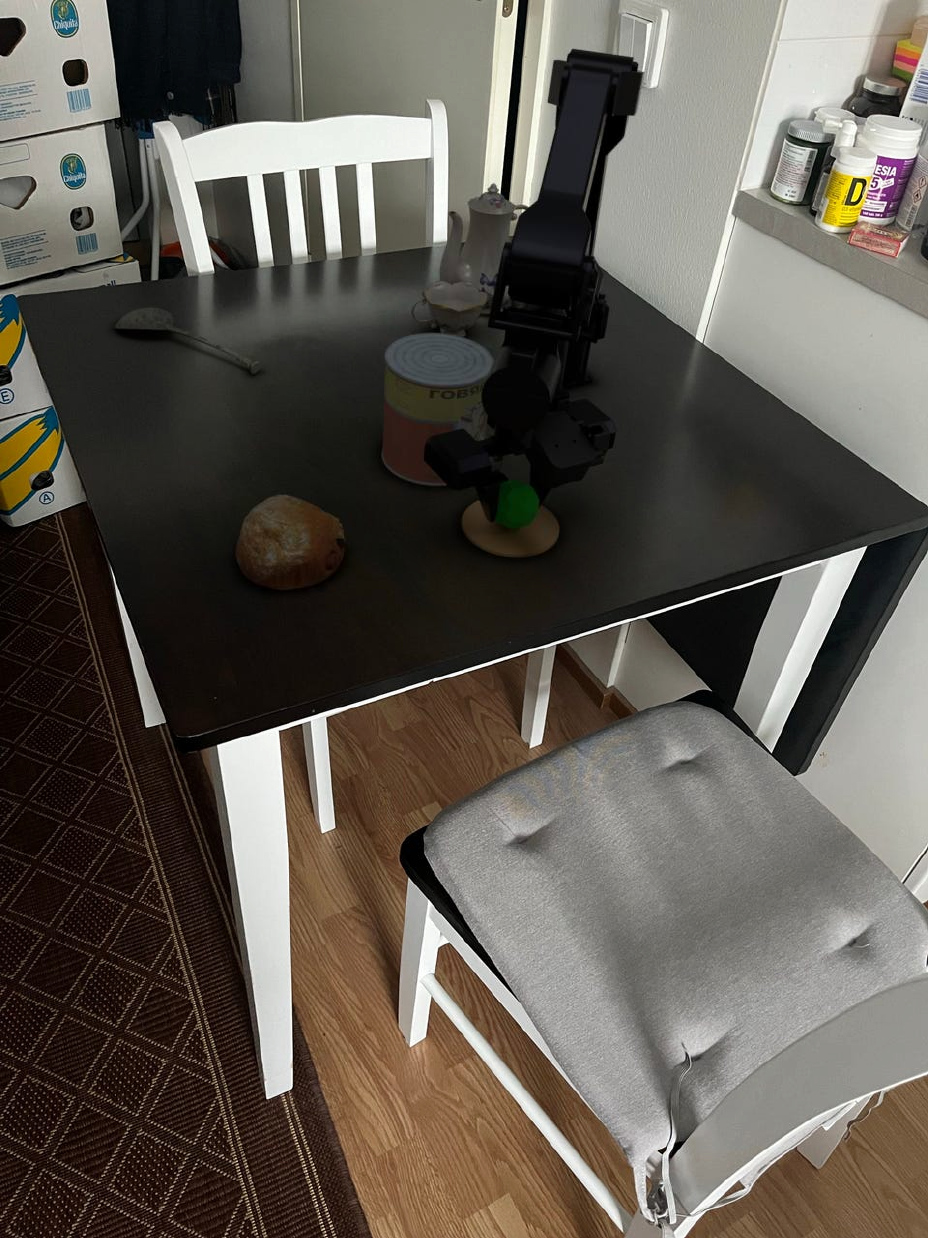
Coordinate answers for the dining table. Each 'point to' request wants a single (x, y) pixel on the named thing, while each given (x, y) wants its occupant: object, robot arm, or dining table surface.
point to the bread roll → (289, 544)
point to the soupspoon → (173, 330)
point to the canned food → (430, 398)
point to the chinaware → (471, 265)
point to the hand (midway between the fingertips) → (512, 513)
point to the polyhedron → (516, 504)
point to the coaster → (510, 533)
